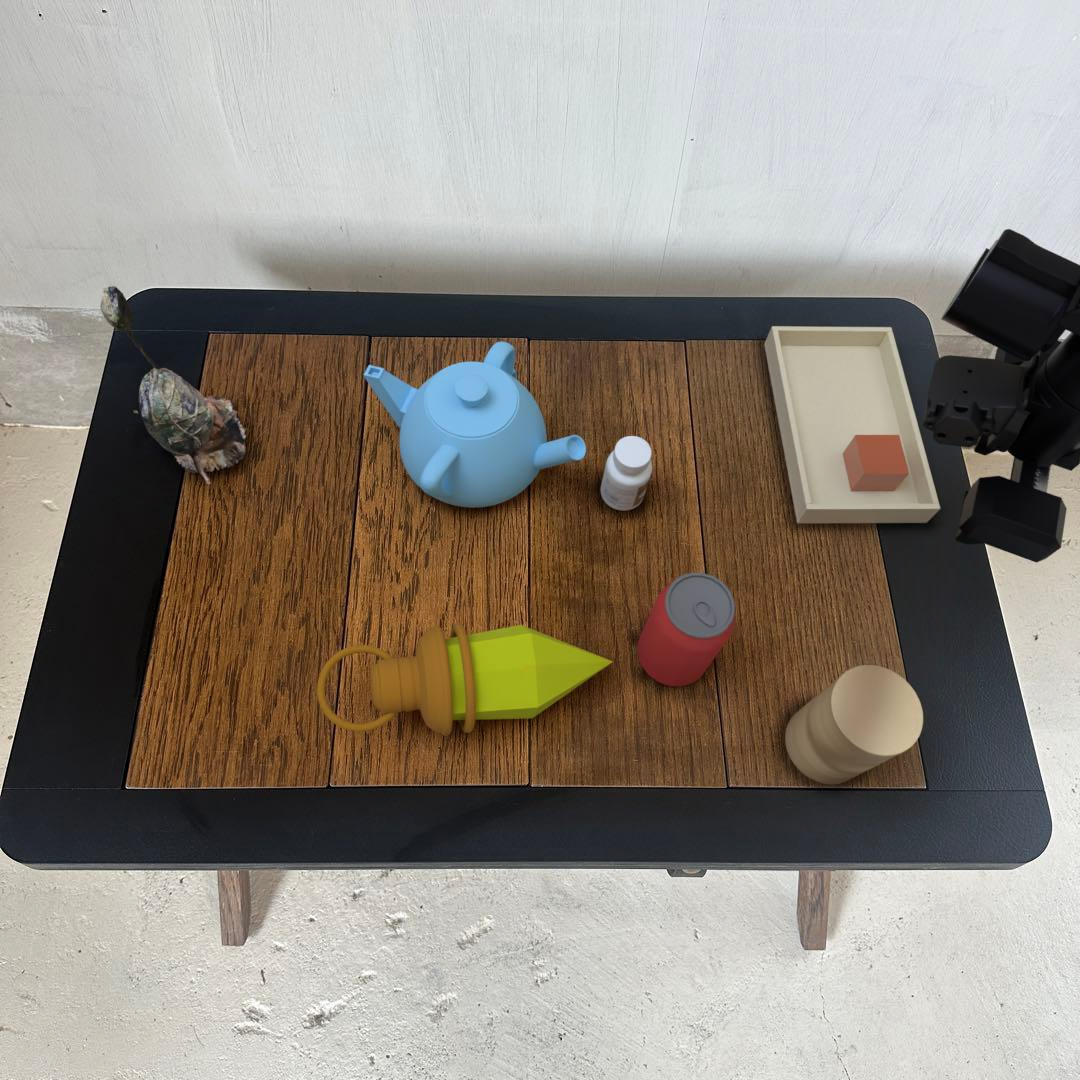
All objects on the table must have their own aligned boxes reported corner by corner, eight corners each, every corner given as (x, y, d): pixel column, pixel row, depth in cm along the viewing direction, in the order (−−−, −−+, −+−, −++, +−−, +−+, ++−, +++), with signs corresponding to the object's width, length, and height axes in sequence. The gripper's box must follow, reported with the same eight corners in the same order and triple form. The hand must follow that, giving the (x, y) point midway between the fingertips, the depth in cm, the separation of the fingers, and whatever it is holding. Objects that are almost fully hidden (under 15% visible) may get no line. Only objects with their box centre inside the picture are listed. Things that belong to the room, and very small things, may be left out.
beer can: (660, 701, 75) (687, 657, 65) (623, 638, 78) (643, 586, 67) (721, 669, 77) (758, 621, 66) (683, 608, 79) (713, 553, 69)
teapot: (442, 556, 81) (435, 498, 71) (371, 420, 87) (355, 349, 77) (583, 494, 84) (595, 431, 74) (505, 368, 91) (506, 294, 81)
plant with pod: (156, 496, 82) (61, 367, 64) (173, 399, 87) (90, 255, 69) (242, 495, 83) (171, 366, 65) (254, 399, 88) (192, 255, 70)
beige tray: (926, 523, 85) (940, 508, 82) (797, 523, 84) (806, 509, 81) (880, 344, 95) (891, 326, 92) (764, 344, 94) (771, 325, 91)
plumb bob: (592, 617, 79) (316, 644, 73) (620, 600, 71) (310, 630, 65) (606, 715, 77) (323, 751, 71) (637, 711, 69) (318, 751, 63)
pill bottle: (644, 512, 84) (658, 472, 77) (600, 511, 84) (610, 470, 77) (643, 474, 86) (656, 431, 79) (599, 472, 86) (609, 429, 79)
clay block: (894, 491, 86) (909, 473, 82) (850, 491, 85) (864, 473, 82) (884, 453, 88) (899, 434, 84) (842, 453, 87) (855, 434, 84)
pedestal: (872, 722, 75) (931, 685, 65) (854, 797, 72) (913, 770, 62) (796, 692, 76) (843, 650, 66) (775, 765, 73) (821, 733, 63)
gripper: (989, 247, 61) (898, 379, 75) (943, 446, 54) (850, 552, 67) (1146, 297, 60) (1023, 422, 74) (1122, 509, 52) (989, 605, 66)
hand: (970, 495), depth 70 cm, fingers open, 9 cm apart
